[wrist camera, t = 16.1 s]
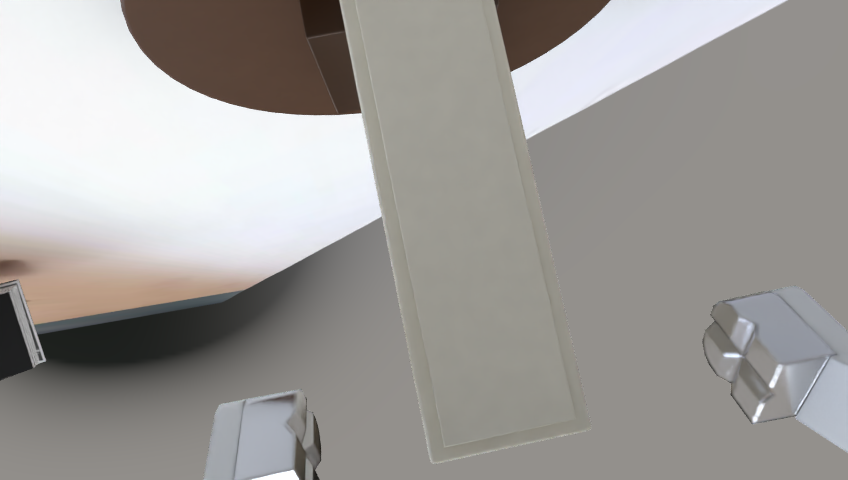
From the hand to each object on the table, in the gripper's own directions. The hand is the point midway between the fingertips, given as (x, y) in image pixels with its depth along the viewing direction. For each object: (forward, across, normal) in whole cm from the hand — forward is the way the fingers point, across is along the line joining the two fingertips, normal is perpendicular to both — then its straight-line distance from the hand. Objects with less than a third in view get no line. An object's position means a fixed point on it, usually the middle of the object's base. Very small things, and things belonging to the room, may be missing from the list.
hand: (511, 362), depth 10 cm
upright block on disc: (+12, 0, -4) cm, 13 cm away
